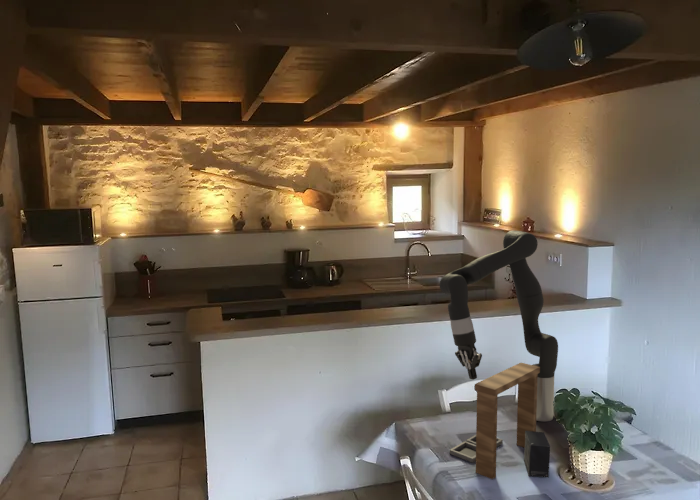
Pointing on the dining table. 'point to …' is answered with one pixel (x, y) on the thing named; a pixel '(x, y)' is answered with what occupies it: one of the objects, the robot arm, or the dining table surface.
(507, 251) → the robot arm
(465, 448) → the tray
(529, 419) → the tunnel
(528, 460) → the small box
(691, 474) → the dining table surface
